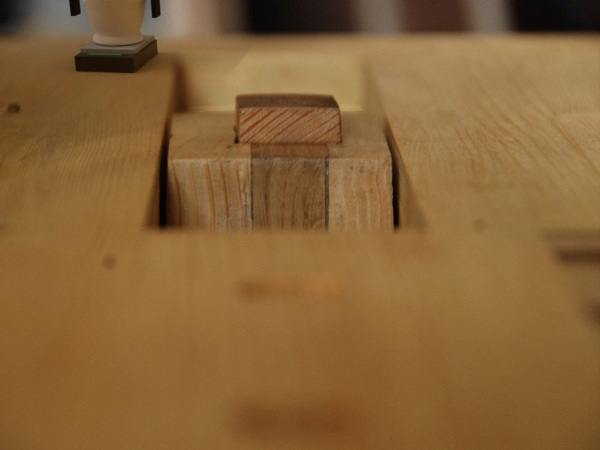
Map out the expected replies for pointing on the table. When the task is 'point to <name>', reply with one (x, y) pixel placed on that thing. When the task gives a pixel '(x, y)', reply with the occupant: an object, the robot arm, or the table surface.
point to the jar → (116, 21)
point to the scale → (116, 56)
